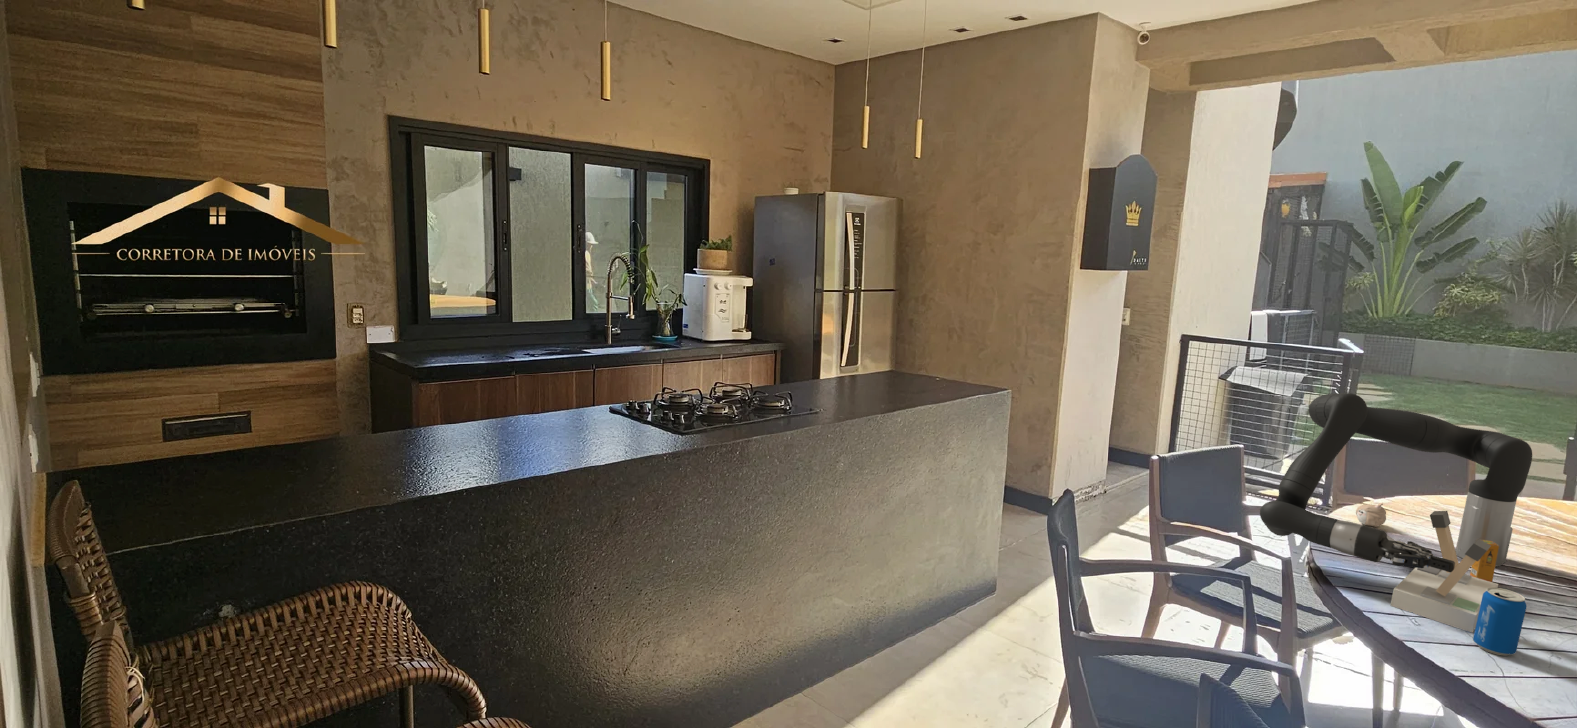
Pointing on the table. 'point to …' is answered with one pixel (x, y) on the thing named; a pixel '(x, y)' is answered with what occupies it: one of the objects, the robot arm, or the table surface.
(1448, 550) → the lever charcoal
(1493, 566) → the supplement box
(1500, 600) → the beverage can
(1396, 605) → the switch unit
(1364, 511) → the brown hamster figurine
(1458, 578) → the tan lever
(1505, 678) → the table surface
